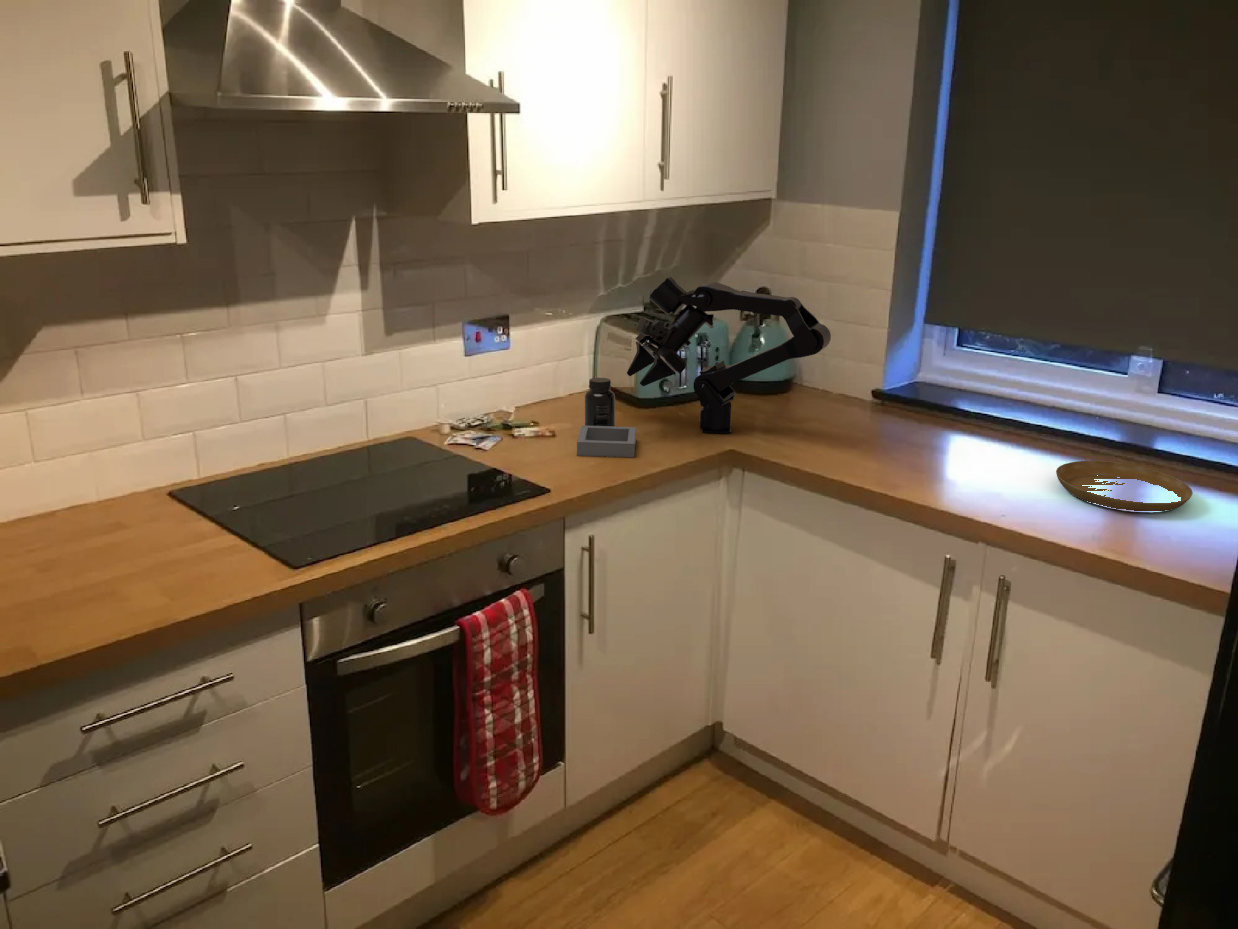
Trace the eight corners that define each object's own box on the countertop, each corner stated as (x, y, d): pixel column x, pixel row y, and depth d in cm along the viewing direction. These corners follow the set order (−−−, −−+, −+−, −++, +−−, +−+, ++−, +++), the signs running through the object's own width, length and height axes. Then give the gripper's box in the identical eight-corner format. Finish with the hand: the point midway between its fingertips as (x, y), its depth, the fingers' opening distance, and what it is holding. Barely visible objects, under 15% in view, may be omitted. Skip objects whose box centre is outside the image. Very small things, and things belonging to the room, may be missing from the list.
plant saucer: (1193, 490, 208) (1196, 474, 207) (1184, 528, 188) (1188, 511, 187) (1064, 468, 219) (1066, 453, 218) (1043, 502, 200) (1046, 485, 199)
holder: (635, 440, 231) (636, 427, 230) (634, 457, 219) (634, 443, 218) (581, 438, 231) (581, 425, 230) (576, 455, 220) (577, 441, 219)
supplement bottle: (618, 429, 239) (620, 377, 235) (608, 437, 232) (609, 384, 229) (590, 425, 241) (591, 374, 237) (579, 433, 235) (580, 381, 231)
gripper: (645, 297, 239) (598, 347, 240) (674, 312, 223) (623, 366, 223) (676, 329, 244) (630, 378, 245) (706, 346, 227) (657, 399, 228)
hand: (634, 379), depth 235 cm, fingers open, 9 cm apart
